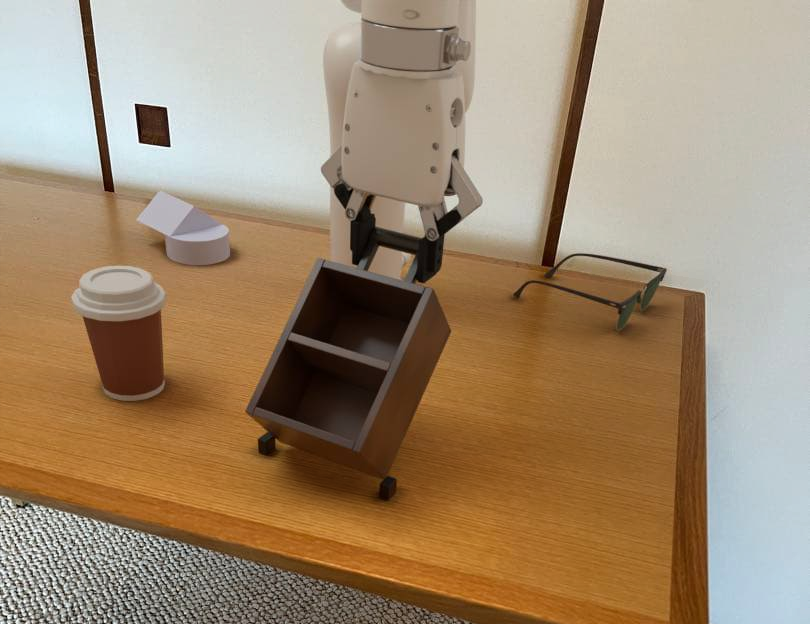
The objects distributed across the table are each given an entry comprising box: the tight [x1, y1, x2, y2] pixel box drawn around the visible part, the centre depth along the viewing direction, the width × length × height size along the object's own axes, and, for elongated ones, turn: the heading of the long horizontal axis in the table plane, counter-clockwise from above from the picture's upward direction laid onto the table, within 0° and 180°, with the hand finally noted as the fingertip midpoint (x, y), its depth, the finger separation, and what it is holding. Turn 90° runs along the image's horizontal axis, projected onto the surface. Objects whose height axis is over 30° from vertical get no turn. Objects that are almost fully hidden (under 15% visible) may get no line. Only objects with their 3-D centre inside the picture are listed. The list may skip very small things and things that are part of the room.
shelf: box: [244, 226, 452, 481], centre depth 76 cm, size 21×12×8 cm
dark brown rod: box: [257, 431, 398, 502], centre depth 78 cm, size 2×15×2 cm, turn 62°
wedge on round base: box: [135, 190, 231, 266], centre depth 117 cm, size 9×7×13 cm
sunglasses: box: [512, 252, 668, 331], centre depth 112 cm, size 16×17×5 cm
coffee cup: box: [70, 265, 167, 402], centre depth 84 cm, size 9×9×12 cm
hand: (394, 267), depth 76 cm, fingers closed on shelf, 6 cm apart
